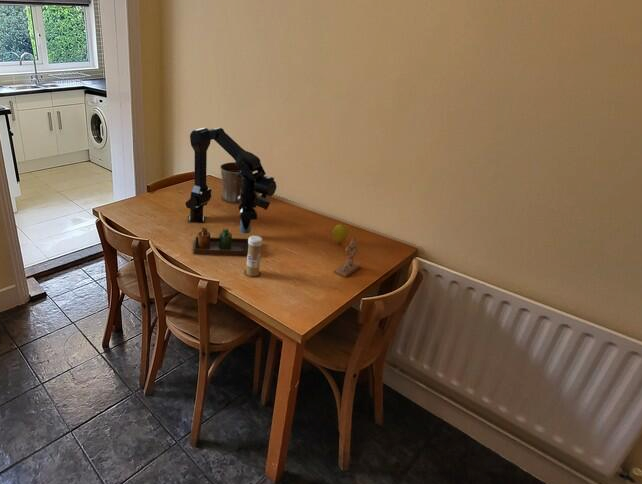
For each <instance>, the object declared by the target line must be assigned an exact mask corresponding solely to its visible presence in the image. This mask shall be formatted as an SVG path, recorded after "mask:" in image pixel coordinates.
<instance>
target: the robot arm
mask: <svg viewBox="0 0 642 484" xmlns="http://www.w3.org/2000/svg"><path fill="white" fill-rule="evenodd" d="M211 140H214V141H215V143H217V144H218V145H219V146H220V147H221V148H222V149H223V150H224V151H225V152H226V153H227V154H228V155H229V156H230V157H231V158H233V160H234V161H235V162H236V165H237V166H238V168H239V169H240V170H241V172H240V173H239V174H237V176H238V177H241V190H240V195H239V196H238V203H237V204H238V210H239V213H238V214H239V220H240V219H241V221H242V223H243V226H244V229H248V226H249V223H250V221H251V220H252V221H255V220H258V212H257V211H258V210H256V208H257V207H259V208H261V209H263V210H265V211H267V210H268V208H269V206H270V205H271V200H270V198H269V197H273V196H274V194H275V193H276V191H277V182H276V181H275V177H273V176H267V173H266V171H265V169H264V167H263V165H262V163H261V162H262V161H261V159H260V157H258V156H257V155H256V154H255V153H252V152H250V151H247V150H245V149H244V148H242V146H240V145H239V144H238V143H237V141H235V140H234V139H233V138H232V137H231V136H229V134H227V133H226V132H225V130H224V128H222V127H216V128H210V129H209V128H208V127H202V128H198V129H194V130H192V131H191V132H190V134H189V141H190V146H191V148H192V149H193V151H194V184H193V187H192V189H191V191H190V198H189V199H187V201H186V202H185V207H186V208H187V209H189V216H188V222H190V223H204V222H205V215H204V206H207V205H208V203H209V202H210V201H211V198H212V188H209V186H208V184H207V171H208V170H207V169H208V167H207V165H208V163H207V160H208V154H207V153H208V149H209V147H210V145H211ZM252 172H253V173H252ZM267 196H268V197H267Z"/></svg>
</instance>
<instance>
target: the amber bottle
mask: <svg viewBox="0 0 642 484" xmlns="http://www.w3.org/2000/svg"><path fill="white" fill-rule="evenodd" d="M197 237H198V247H199V248H200V249H209V248H210V237H211V232H210V231H208V228H207V227H202V228H201V231H199V232H198V233H197Z"/></svg>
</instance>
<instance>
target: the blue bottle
mask: <svg viewBox="0 0 642 484" xmlns="http://www.w3.org/2000/svg"><path fill="white" fill-rule="evenodd" d="M252 223H253V220H251V221H250V223H249V226H248V229H244V226H243V223H242V221H241V219H240V218H239V232H240V233H241V234H245V235H247V234H250V233H251V232H252Z"/></svg>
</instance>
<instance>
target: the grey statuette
mask: <svg viewBox="0 0 642 484" xmlns="http://www.w3.org/2000/svg"><path fill="white" fill-rule="evenodd" d="M356 245H357V239H356V238H352V239H351V240H350V241H349V244H348V245H347V246H346V247H345V249H344V254H345V255H346V259H345V262H344V264H343V265H342V266H340V267H339V268H337V269H336V270H335V273H336V274H338V275H341V276H343V277H345V278H347V277H348V276H350V275H351V274H353V273H354V272H356V271H357V270H358V269H360V265H359V264H357V263H355V262H354V256H355V255H356V254H357V253H358V247H357V246H356ZM348 252H349V253H348Z"/></svg>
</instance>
